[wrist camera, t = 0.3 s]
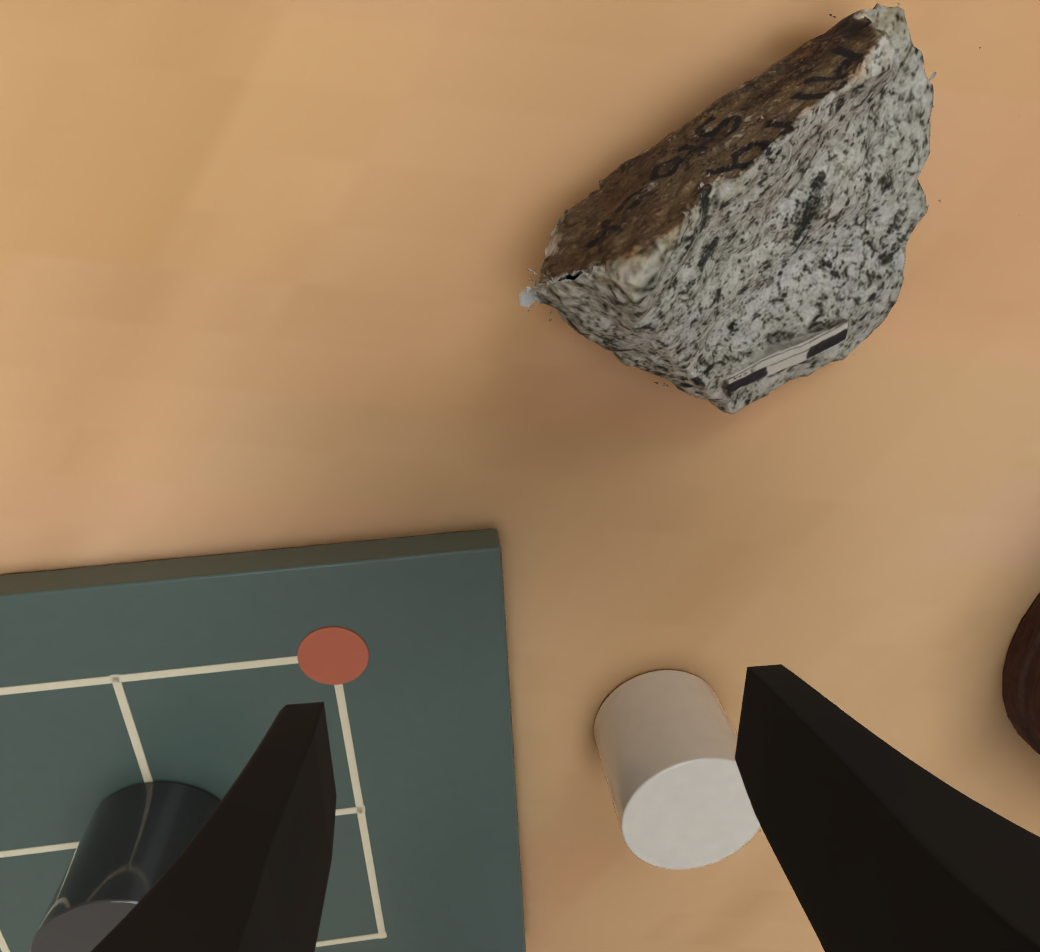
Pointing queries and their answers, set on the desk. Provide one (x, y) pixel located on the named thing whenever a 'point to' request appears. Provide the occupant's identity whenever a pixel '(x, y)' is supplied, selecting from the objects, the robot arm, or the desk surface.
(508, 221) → the desk surface
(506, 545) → the desk surface
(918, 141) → the rock sample
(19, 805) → the game board
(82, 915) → the dark grey cylinder
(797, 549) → the desk surface
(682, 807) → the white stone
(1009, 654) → the black ball on stand
